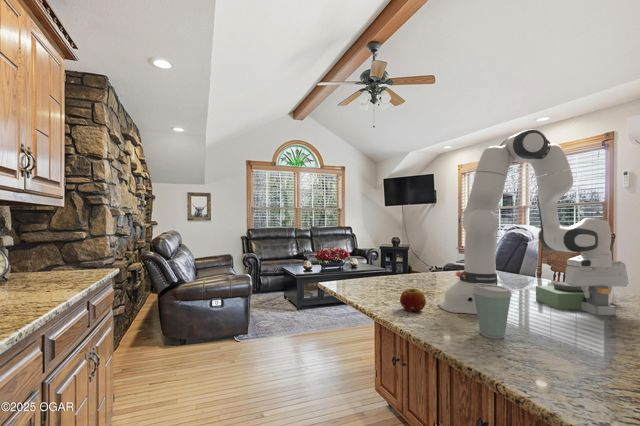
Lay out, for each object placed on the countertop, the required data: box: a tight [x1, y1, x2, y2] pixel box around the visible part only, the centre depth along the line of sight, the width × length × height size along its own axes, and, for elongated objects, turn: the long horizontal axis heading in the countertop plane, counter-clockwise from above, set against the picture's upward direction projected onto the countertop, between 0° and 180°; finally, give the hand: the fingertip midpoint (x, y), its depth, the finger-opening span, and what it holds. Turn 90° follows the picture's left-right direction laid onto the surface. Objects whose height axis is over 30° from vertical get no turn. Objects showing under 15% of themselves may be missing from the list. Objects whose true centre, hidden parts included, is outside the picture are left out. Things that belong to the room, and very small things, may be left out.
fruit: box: [399, 288, 427, 313], centre depth 125 cm, size 10×9×8 cm
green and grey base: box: [535, 281, 617, 316], centre depth 128 cm, size 18×21×8 cm
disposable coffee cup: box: [473, 283, 512, 340], centre depth 97 cm, size 11×11×15 cm
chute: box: [586, 286, 611, 306], centre depth 120 cm, size 6×4×9 cm
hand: (596, 298), depth 121 cm, fingers closed on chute, 4 cm apart
